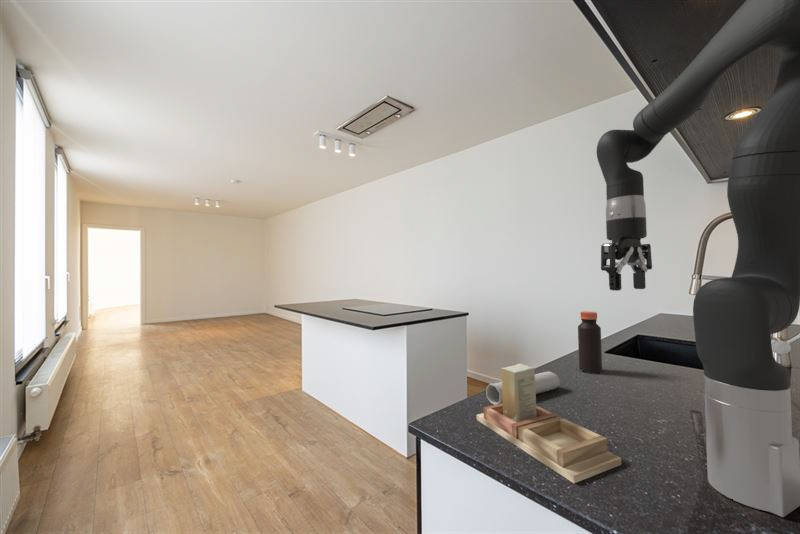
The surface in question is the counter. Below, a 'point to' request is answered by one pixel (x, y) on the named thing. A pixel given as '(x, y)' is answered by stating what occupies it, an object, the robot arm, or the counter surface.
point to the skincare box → (519, 392)
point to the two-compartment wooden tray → (554, 442)
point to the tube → (542, 384)
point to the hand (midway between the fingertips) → (627, 289)
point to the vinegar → (589, 343)
